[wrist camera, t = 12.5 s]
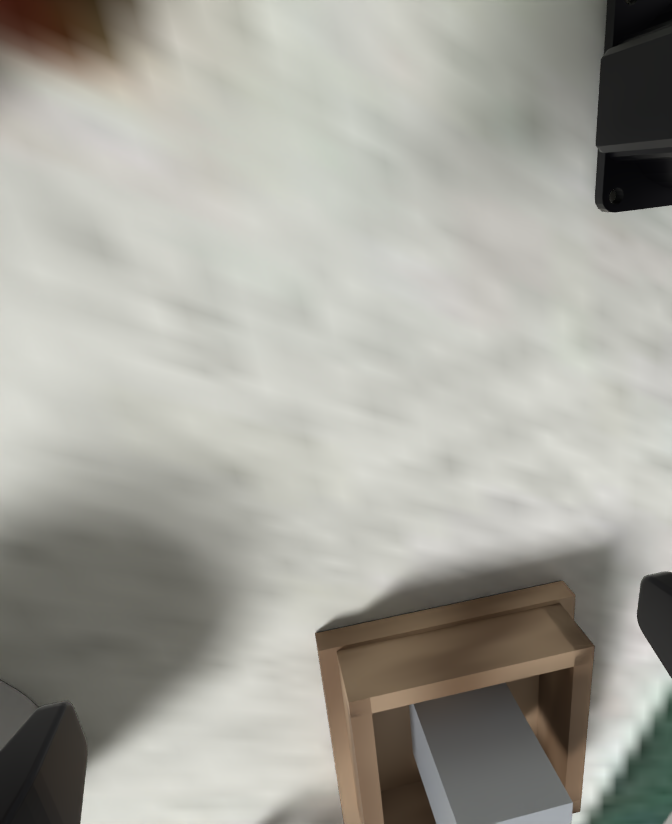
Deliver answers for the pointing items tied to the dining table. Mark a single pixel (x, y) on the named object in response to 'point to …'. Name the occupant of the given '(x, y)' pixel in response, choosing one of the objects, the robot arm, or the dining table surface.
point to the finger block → (485, 761)
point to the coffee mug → (12, 711)
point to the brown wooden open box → (451, 690)
